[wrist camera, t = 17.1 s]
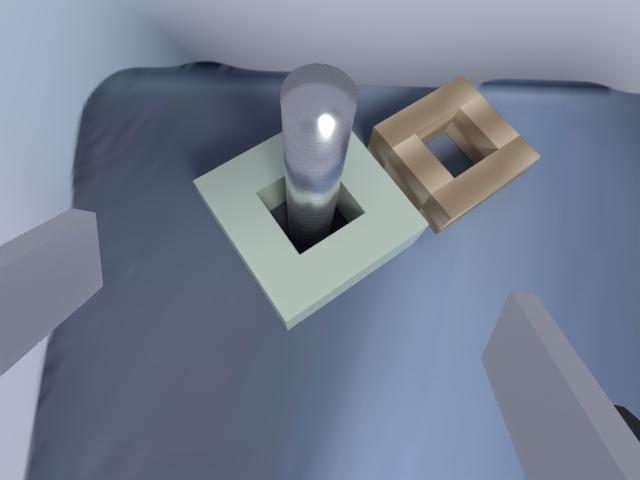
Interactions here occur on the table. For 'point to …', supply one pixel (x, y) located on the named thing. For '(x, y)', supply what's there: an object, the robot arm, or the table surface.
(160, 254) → the table surface
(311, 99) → the cylinder
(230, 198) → the sage rack
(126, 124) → the table surface
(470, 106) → the maple sleeve
